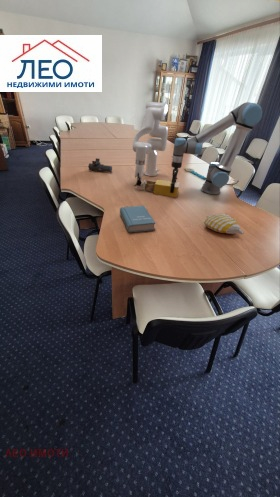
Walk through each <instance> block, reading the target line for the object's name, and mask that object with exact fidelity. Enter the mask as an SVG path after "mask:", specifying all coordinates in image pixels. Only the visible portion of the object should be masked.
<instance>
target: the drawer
mask: <svg viewBox="0 0 280 497" xmlns="http://www.w3.org/2000/svg"><path fill="white" fill-rule="evenodd" d="M155 183H156V181H154V180H148V179H147V180H146V178H145V179H143V180H142V181H141V186H140V185H137V181H136V182H135V183H134V185H133V186H134V187H140V191H148V192H154V186H155Z"/></svg>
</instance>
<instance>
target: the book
mask: <svg viewBox="0 0 280 497" xmlns="http://www.w3.org/2000/svg"><path fill="white" fill-rule="evenodd" d="M119 214H120V217H121V219H122V221H123V223H124V226H125V227H126V230H127V232H128V233H141V232H151V231H155V230H156V229H155V224H156V221H155V220H154V218H153V217H152V215H151V214H150V212H149V211H148V209H147V207H146V206H145V205H135V206H134V205H133V206H124V207H123V206H122V207H120V208H119Z"/></svg>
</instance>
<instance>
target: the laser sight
mask: <svg viewBox="0 0 280 497" xmlns="http://www.w3.org/2000/svg"><path fill="white" fill-rule="evenodd" d="M88 170H89V171H93V172H101V173H104V172H107V173H112V172H113V166H112V165H105V164H102V163H101V162H100V158H95V160H91V163H88Z"/></svg>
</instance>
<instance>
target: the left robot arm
mask: <svg viewBox="0 0 280 497" xmlns="http://www.w3.org/2000/svg"><path fill="white" fill-rule="evenodd" d="M168 109H169V108H168V103H166V102H157V101H148V102H146V103H145V111H144V116H143V122H142V126H141V128H140V129H139V130H138V131H137V132H136V134H135V135H134V137H133V143H132V151H133V152H135V164H134V165H135V172H134V178H135V179H136V182H137V185H140V186H139V187H141V184H142V183H141V182H142V178H143V176H144V175H145V176H147V177H155V176H157V175H158V172H160V169H159V168H158V169H157V163H158V153H157V152H165V151H166V149H167V144H168V143H167V142H168V135H169V134H168V133H169V131H168V126H167V125H162V124H161V122H162V121H163V120H164V119H165V117H166V116H167V113H168ZM148 134H149V136H150V138H148V139H147V140H146V142H143V141H139V140H140V138H142V137H143V136H145V135H148ZM144 169H145V170H144Z"/></svg>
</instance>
